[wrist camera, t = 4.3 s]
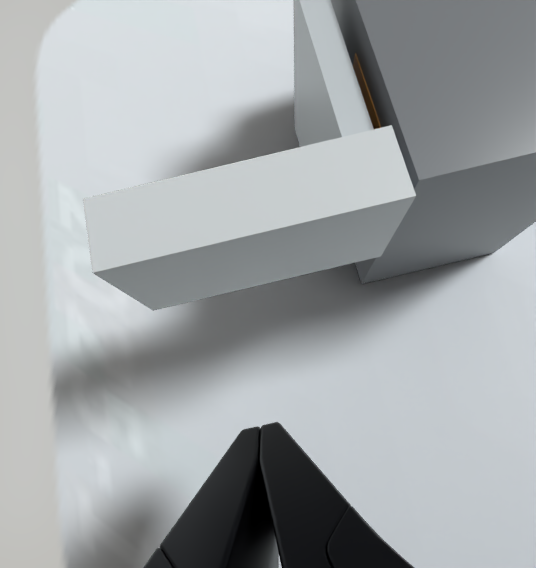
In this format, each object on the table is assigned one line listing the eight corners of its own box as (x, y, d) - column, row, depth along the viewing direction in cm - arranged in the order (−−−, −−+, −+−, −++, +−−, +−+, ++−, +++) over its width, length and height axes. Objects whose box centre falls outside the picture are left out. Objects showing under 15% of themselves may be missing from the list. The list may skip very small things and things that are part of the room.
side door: (361, 289, 15) (416, 195, 8) (185, 330, 15) (92, 272, 8) (313, 123, 16) (323, -70, 10) (155, 161, 16) (56, -5, 10)
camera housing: (493, 252, 16) (671, 119, 9) (360, 284, 16) (417, 180, 9) (417, 55, 19) (503, -188, 11) (301, 83, 19) (304, -141, 11)
